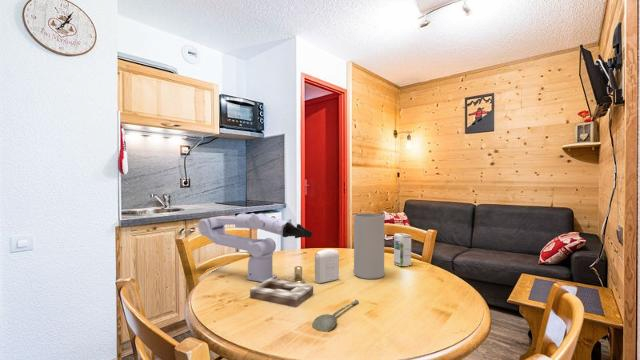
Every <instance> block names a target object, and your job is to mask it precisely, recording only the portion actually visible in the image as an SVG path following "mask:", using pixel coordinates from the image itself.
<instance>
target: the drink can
mask: <svg viewBox="0 0 640 360" xmlns="http://www.w3.org/2000/svg"><path fill="white" fill-rule="evenodd" d="M393 235H394V236H393V247H394V248H393V265H394V264H397V265H399V266H405V265H411V266H412V234H407V233H404V232H396V233H394V234H393ZM397 265H396V266H397ZM399 266H398V267H399Z"/></svg>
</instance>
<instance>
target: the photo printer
mask: <svg viewBox="0 0 640 360" xmlns="http://www.w3.org/2000/svg"><path fill="white" fill-rule="evenodd" d="M339 279H340V253H339V251H338V250H337V249H333V248H325V249H321V250H319V251H317V252H316V253H315V255H314V281H315V283H317V284H322V283H326V282H332V281H337V280H339Z"/></svg>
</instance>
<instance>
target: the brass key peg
mask: <svg viewBox="0 0 640 360" xmlns="http://www.w3.org/2000/svg"><path fill="white" fill-rule="evenodd" d="M293 270H294V278H293V279H292V280H291V282H296V283H302V284H306V282H305V281H306V280H305V279H304V278H303V266H300V265H299V266H298V265H296V266H294V269H293Z"/></svg>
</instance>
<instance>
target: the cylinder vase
mask: <svg viewBox="0 0 640 360" xmlns="http://www.w3.org/2000/svg"><path fill="white" fill-rule="evenodd" d="M353 274H354V276H355V277H358V278H360V279H366V280H377V279H378V280H379V279H380V278H383V277H384V276H385V215H384V214H381V213H364V212H362V213H355V214H353Z"/></svg>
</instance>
